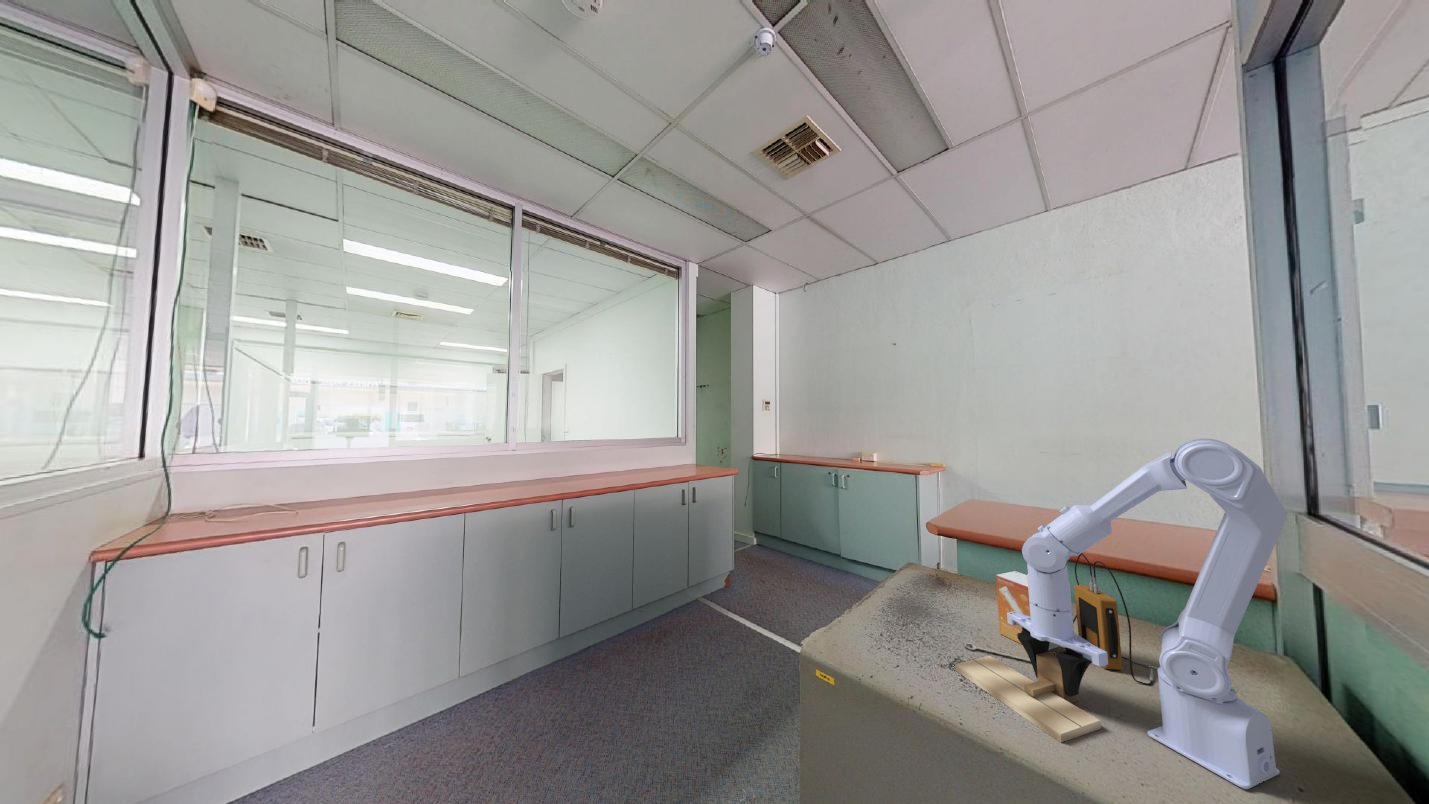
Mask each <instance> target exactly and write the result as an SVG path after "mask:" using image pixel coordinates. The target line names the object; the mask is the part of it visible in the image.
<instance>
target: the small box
mask: <svg viewBox="0 0 1429 804" xmlns="http://www.w3.org/2000/svg"><path fill="white" fill-rule="evenodd" d="M995 579H996V595H997V609H998V610H997V611H998V612H997V613H998V624H999V625H998V627H999V634H1000V635H1002V636H1004V637H1006V638H1008V639H1010V640H1012V641H1014V642H1016V643H1018V644H1020V645H1022V644H1021V642H1020V641H1019V640H1018V638H1017V634H1018V633H1021V631H1022V628H1021V627H1019V626H1017V625H1011V624H1009V623H1008V621H1007V613H1009V612H1013V611H1015V612H1018V613H1020V614H1023V615H1026V616H1029V617H1030V604H1029V591H1028V578H1027V574H1025V573H1022V572H1019V571H1016V570H1014V571H1009V572H1002V573H999V574H996V575H995ZM1059 647H1060V646H1059V645H1057V644H1054V643H1051V642H1050V644H1049V651H1050V650H1054V649H1057V648H1059Z"/></svg>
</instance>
